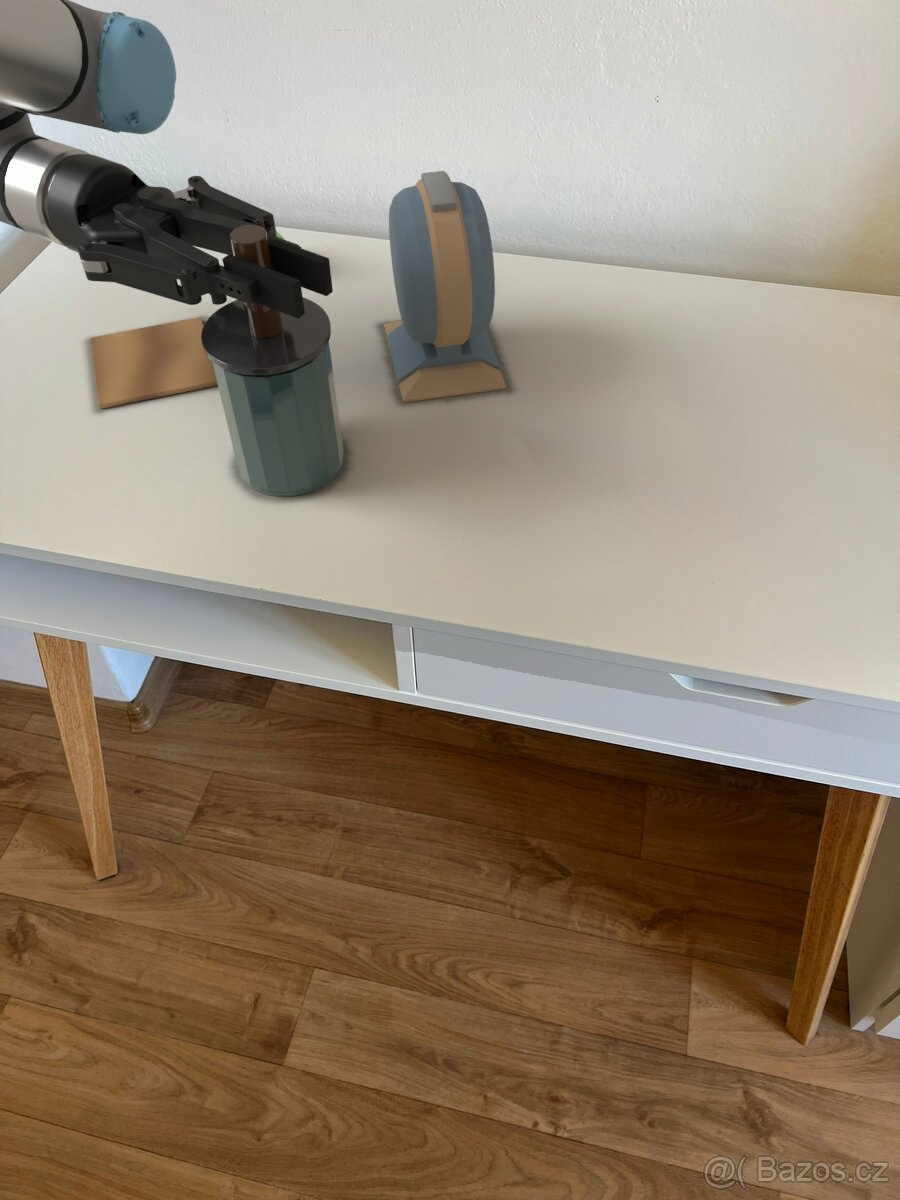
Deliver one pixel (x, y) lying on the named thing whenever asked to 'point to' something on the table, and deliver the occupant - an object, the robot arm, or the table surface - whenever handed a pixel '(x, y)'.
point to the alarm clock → (442, 291)
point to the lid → (262, 323)
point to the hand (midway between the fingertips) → (313, 288)
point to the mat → (151, 362)
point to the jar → (284, 426)
